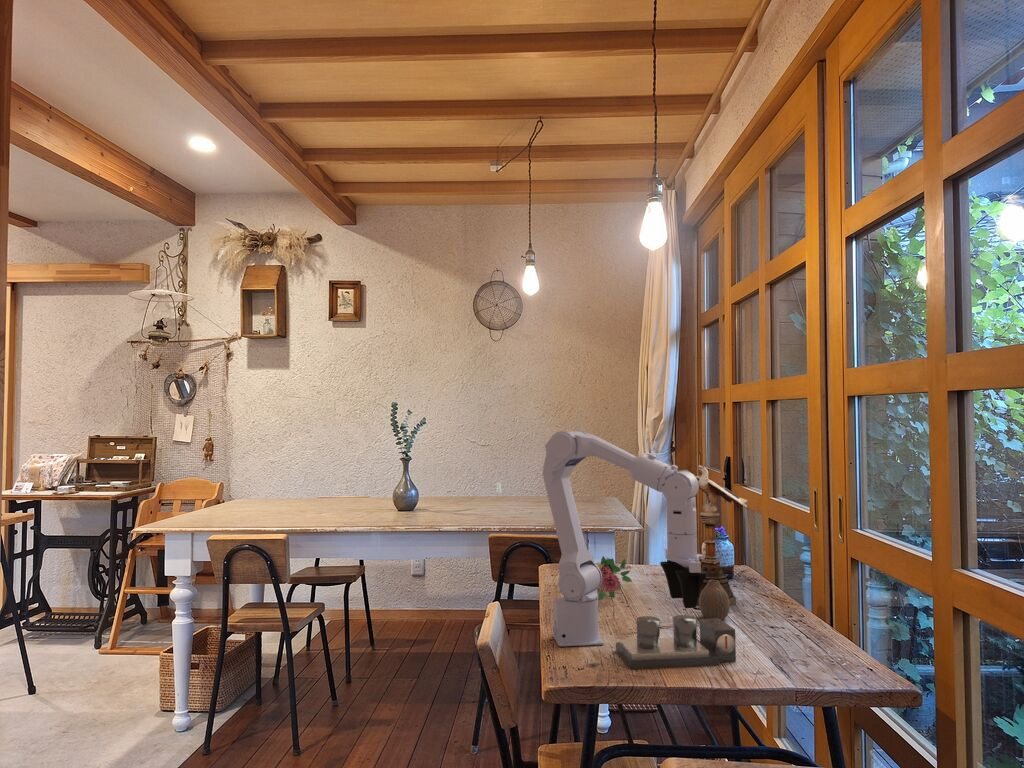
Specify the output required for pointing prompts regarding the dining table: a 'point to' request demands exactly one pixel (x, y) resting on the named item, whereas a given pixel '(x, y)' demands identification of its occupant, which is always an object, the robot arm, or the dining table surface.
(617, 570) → the flower vase
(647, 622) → the cylinder
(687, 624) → the ball
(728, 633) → the scale
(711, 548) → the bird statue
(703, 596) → the brown egg-shaped piece
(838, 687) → the dining table surface
